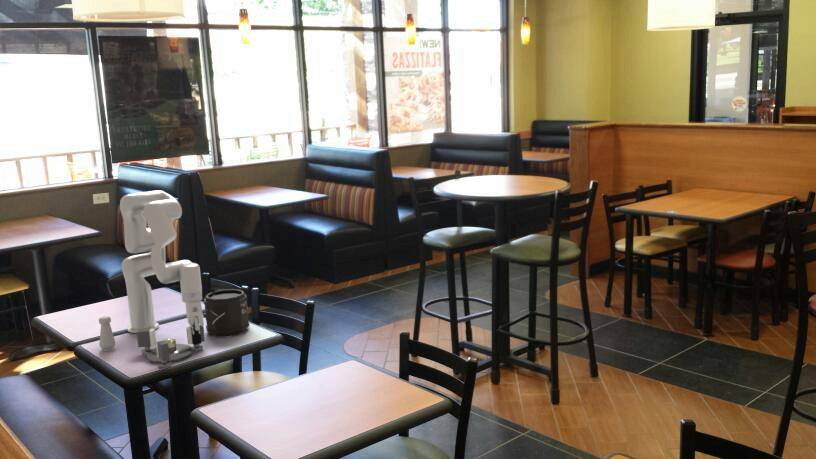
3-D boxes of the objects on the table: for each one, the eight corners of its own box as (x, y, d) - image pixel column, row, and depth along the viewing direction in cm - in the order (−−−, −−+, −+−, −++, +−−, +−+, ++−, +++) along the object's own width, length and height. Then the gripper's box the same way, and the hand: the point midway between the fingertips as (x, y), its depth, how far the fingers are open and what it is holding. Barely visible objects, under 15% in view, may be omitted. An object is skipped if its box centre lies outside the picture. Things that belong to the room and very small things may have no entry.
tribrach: (143, 351, 282) (141, 334, 281) (204, 346, 284) (202, 330, 283) (130, 370, 262) (128, 353, 260) (195, 365, 264) (193, 348, 263)
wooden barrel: (203, 327, 308) (200, 291, 306) (246, 322, 314) (244, 286, 311) (205, 340, 292) (202, 302, 289) (251, 334, 297) (248, 296, 294)
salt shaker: (110, 352, 283) (106, 319, 280) (96, 351, 284) (93, 319, 281) (119, 346, 288) (115, 315, 286) (106, 346, 289) (102, 314, 287)
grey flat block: (140, 349, 280) (138, 330, 279) (156, 348, 281) (154, 328, 279) (138, 351, 278) (136, 332, 276) (155, 350, 278) (153, 330, 277)
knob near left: (205, 345, 281) (203, 326, 280) (189, 348, 279) (187, 328, 278) (204, 343, 284) (202, 324, 282) (188, 346, 281) (186, 327, 280)
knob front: (163, 365, 262) (161, 344, 260) (157, 361, 266) (155, 340, 265) (170, 364, 263) (168, 343, 262) (164, 359, 268) (162, 339, 266)
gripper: (205, 299, 272) (210, 347, 275) (198, 290, 286) (203, 335, 290) (184, 302, 269) (189, 350, 272) (178, 292, 283) (183, 338, 287)
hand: (196, 342), depth 281 cm, fingers closed on knob near left, 2 cm apart
